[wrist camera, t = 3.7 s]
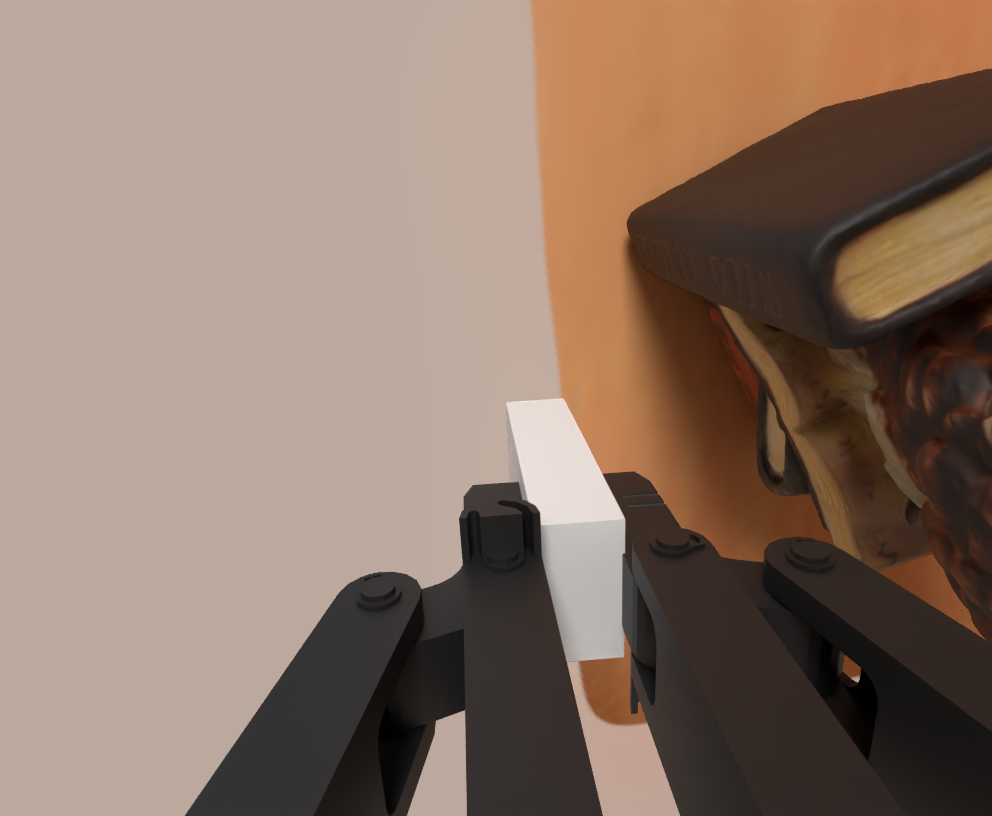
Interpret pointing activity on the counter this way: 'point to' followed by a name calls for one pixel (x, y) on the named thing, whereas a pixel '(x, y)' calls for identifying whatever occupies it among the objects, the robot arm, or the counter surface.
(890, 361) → the bookend
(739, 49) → the counter surface
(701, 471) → the counter surface
